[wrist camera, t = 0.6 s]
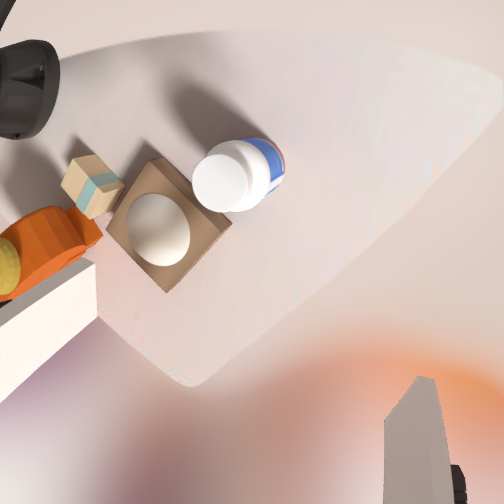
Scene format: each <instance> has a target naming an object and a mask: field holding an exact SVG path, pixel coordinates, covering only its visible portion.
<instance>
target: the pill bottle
mask: <svg viewBox="0 0 504 504" xmlns="http://www.w3.org/2000/svg"><path fill="white" fill-rule="evenodd" d="M284 174H285V160H284V157H283V154H282V152H281V151H280V149H279V148H278V147H277V146H276V145H275V144H274V143H272V142H270V141H269V140H266V139H263V138H247V139H239V140H231V141H226V142H223V143H220V144H218V145H216V146H215V147H213V148H212V149H211V150H210V151H209V152H208V153H207V154H206V156H205V157H204V158H203V159H202V160H201V161H200V162H199V163H198V164H197V166H196V167H195V169H194V172H193V176H192V187H193V191H194V194H195V196H196V198H197V199H198V201H199V202H200V203H201V204H202V205H203V206H204V207H206V208H207V209H209V210H212V211H215V212H228V211H232V212H240V211H245V210H248V209H250V208H252V207H254V206H255V205H256V204H258V203H259V202H260V201H261V200H263V199H264V198H265V197H266V196H267V195H269V194H270V193H271V192H272V191H273V190H275V189H276V188H277V187H278V185H279V184H280V183H281V181H282V179H283V177H284Z"/></svg>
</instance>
